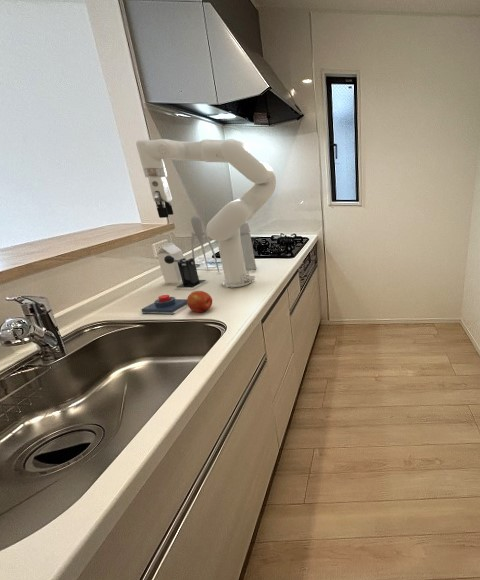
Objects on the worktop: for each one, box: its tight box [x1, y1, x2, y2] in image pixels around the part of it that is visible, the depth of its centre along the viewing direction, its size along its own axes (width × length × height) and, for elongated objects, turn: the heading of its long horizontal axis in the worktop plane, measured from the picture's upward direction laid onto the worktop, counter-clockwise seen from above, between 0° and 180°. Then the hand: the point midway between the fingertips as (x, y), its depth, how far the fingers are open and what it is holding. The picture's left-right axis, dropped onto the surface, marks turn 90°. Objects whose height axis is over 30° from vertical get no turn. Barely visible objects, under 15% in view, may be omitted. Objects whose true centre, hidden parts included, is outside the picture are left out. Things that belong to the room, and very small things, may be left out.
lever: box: [164, 255, 187, 266], centre depth 137 cm, size 13×4×4 cm, turn 175°
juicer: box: [190, 214, 220, 273], centre depth 157 cm, size 10×9×30 cm
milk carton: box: [156, 241, 185, 284], centre depth 147 cm, size 7×7×19 cm
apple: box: [186, 290, 213, 313], centre depth 118 cm, size 8×8×8 cm
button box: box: [140, 296, 187, 316], centre depth 121 cm, size 12×10×4 cm
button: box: [157, 294, 171, 302], centre depth 120 cm, size 4×4×2 cm
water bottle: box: [240, 221, 257, 271], centre depth 165 cm, size 9×8×25 cm
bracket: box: [176, 257, 207, 289], centre depth 144 cm, size 10×8×13 cm
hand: (166, 216), depth 134 cm, fingers open, 9 cm apart
